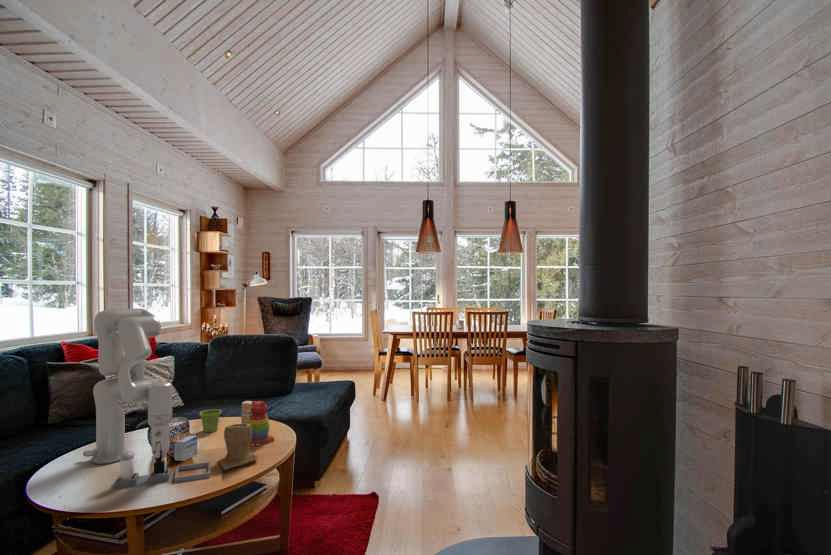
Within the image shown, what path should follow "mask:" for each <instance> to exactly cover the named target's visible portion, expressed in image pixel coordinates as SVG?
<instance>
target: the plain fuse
mask: <svg viewBox="0 0 831 555" xmlns="http://www.w3.org/2000/svg"><path fill="white" fill-rule="evenodd" d="M119 466H120V467H119V471H120V472H119V473H120V474H119V475H120V481H121V480H129V479H134V473H135V452H134V451H128V452H124V453H122V454H120V461H119Z"/></svg>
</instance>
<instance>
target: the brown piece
mask: <svg viewBox="0 0 831 555" xmlns="http://www.w3.org/2000/svg"><path fill="white" fill-rule="evenodd" d="M223 431H224V432H223V438H224V442H225V447H226V452H227V453H226V455H225V456H224V457H223V458H221V459H219V460H217V464H219V465H220V467H221V470H222V471H225V470H228V469H233V468H236V467H237V468H238V467H239V466H243V465H247V464H248V463H251V462H255V461H256V460H258V459H259V457H258V456H257V455H256V454H254V453H251V451H250V447H251V445H250V443H251V440H252V427H251V425H250V424H241V423H236V424H229V425H226V426H225V428H224V430H223Z"/></svg>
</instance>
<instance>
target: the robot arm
mask: <svg viewBox="0 0 831 555" xmlns="http://www.w3.org/2000/svg"><path fill="white" fill-rule="evenodd" d="M93 326H94V330H95V334H96V338H97V342H98V350H97V351H98V352H97V353H98V356H97V357H98V358H97V359H98V362H97V363H98V364H97V366H98V371H99V373H100V374H101V375H102V376H116V375H117V376H118V377H112V378H106V379H103V380H100V381H98V382H97V383H96V384H95V385H94V386H93V390H92V391H93V392H92V393H93V399H94V403H95V404H94V405H95V416H96V417H95V418H96V419H95V422H96V424H95V426H96V427H95V429H96V430H95V431H96V432H95V433H96V434H95V438H96V439H95V440H96V441H95V442H96V444H95V448H93V449H89V450H87V449H86V450H83V452H82V456H84V457H85V458H87V457H91V463H92V464H96V465H105V464H106V465H107V464H113V463H117V462H120V454H122V453H124V452H129V450H127V449H125V446H126V445H125V441H126V440H125V439H126V437H125V435H126V431H125V429H126V428H125V425H126V424H125V422H126V420H125V419H126V416H125V414H126V413H125V409H124V408H123V407H122V406H120V404H119V402H122V401H123V402H124V403H126V404H128V405H135V404H141V403H144V402H145V403H146V402H147V424H148V425H149V426H151V434H150V435H151V437H150V439H151V440H150V441H151V454H152V455H154V459H153V463H154V474H160V473H164V452H165V453H168V452H169V450H170V446H171V438H170V437H171V436H170V435H171V431H170V430H171V427H170V424H171V423H172V422H173V384H172V383H171V382H169V381H166V380H164V379H162V378H151V379H145V369H146V368H145V365H146V364H145V360H147V359H149V357H150V356H151V355H152V352H153V351H152V348H151V345H150V341H149V339H148V338H156V337H159V335H160V334H161V331H162V325H161V321H160V320H159V318H158V317H157V316H156V315H155V314H154V313H151V312H150V311H148V310H147V309H145V308H135V307H134V308H115V309H114V308H113V309H106V310H102V311H99V312H98V313H97V314H96V315H95V316H94V320H93ZM160 451H162V452H160ZM154 453H155V454H154ZM161 454H162V456H160V455H161Z"/></svg>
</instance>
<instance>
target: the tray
mask: <svg viewBox="0 0 831 555" xmlns="http://www.w3.org/2000/svg"><path fill="white" fill-rule="evenodd" d="M211 463H212V462H211V461H206V462H198V463H191V464H183V465H177V466H176V468H175V469H176V470H175V472H174V476H173V482H174V483H179V482H186V481H187V482H189V481H194V480H195V481H196V480H201V479H202V480H203V479H207V478H208V479H209V478H211V468H212V467H211ZM202 468H208V471H207V472H203V473H202V472H201V473H196V474H195V473H194V474H189V475H182V476H179V472H181V471H189V470H194V469H202Z"/></svg>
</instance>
